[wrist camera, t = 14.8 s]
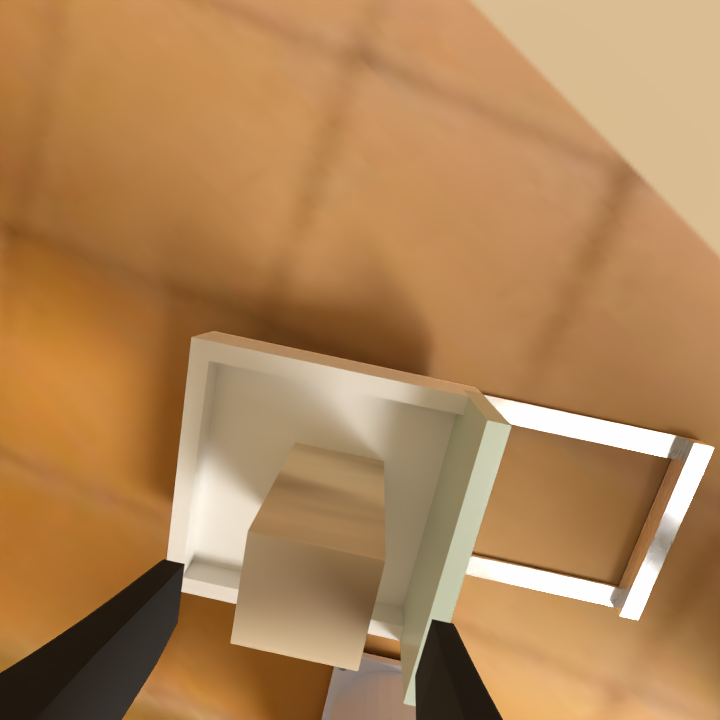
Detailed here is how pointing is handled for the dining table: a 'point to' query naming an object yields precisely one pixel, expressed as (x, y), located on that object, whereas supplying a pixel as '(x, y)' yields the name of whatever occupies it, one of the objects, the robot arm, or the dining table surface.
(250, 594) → the block
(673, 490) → the track
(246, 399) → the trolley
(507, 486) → the dining table surface
